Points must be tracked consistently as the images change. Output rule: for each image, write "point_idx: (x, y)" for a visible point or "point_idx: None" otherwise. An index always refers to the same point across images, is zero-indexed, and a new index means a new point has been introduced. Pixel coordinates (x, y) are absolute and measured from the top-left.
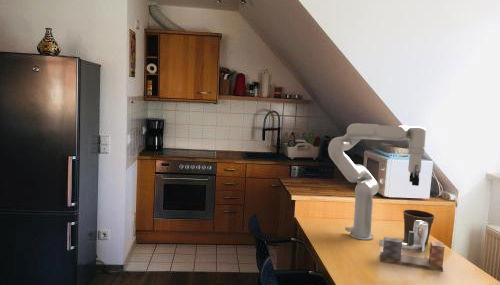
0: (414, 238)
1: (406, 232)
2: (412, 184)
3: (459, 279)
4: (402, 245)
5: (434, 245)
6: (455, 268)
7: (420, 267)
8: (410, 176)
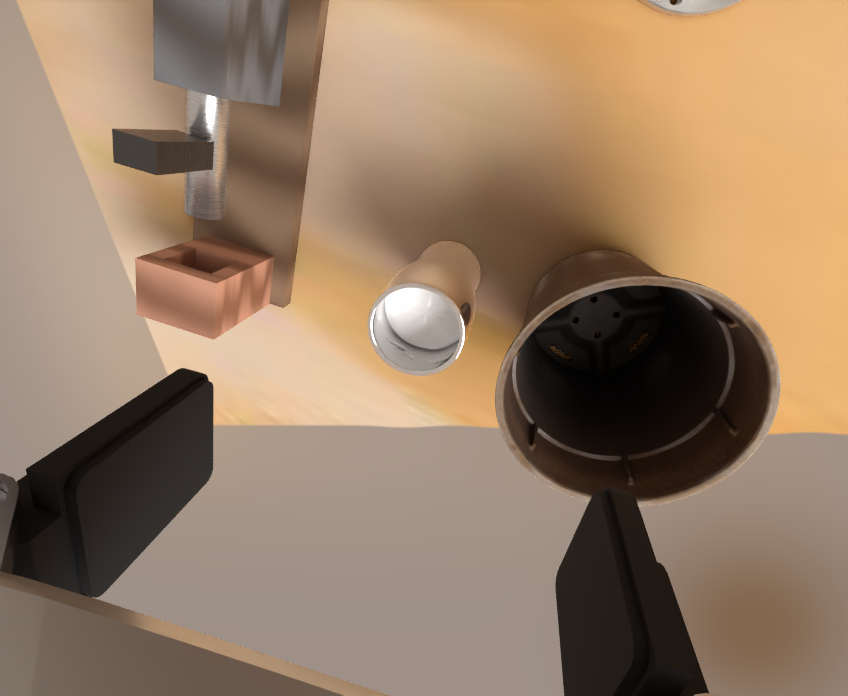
0: (428, 257)
1: (589, 262)
2: (175, 378)
3: None
4: (186, 92)
5: (137, 268)
6: (254, 346)
7: None
8: (617, 605)
